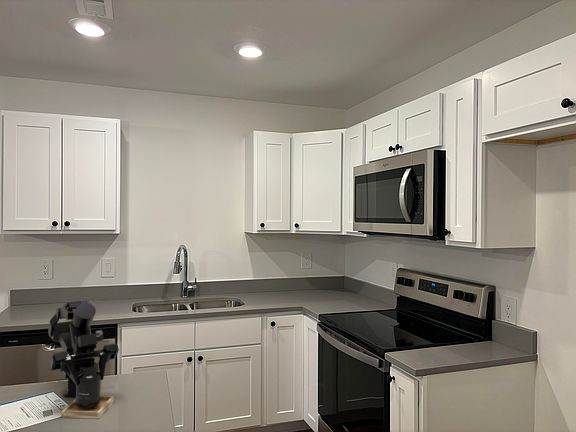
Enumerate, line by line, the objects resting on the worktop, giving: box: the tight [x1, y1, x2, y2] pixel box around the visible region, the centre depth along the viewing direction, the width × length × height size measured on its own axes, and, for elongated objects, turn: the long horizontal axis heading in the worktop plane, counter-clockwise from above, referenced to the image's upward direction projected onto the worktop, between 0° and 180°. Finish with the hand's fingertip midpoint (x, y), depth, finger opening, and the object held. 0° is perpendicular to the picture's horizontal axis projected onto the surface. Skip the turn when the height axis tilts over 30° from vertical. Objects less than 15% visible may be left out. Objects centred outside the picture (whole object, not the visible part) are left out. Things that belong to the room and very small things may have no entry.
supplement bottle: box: [75, 361, 102, 409], centre depth 136 cm, size 7×7×12 cm
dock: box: [60, 395, 115, 420], centre depth 136 cm, size 11×11×2 cm
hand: (90, 382), depth 135 cm, fingers closed on supplement bottle, 7 cm apart
